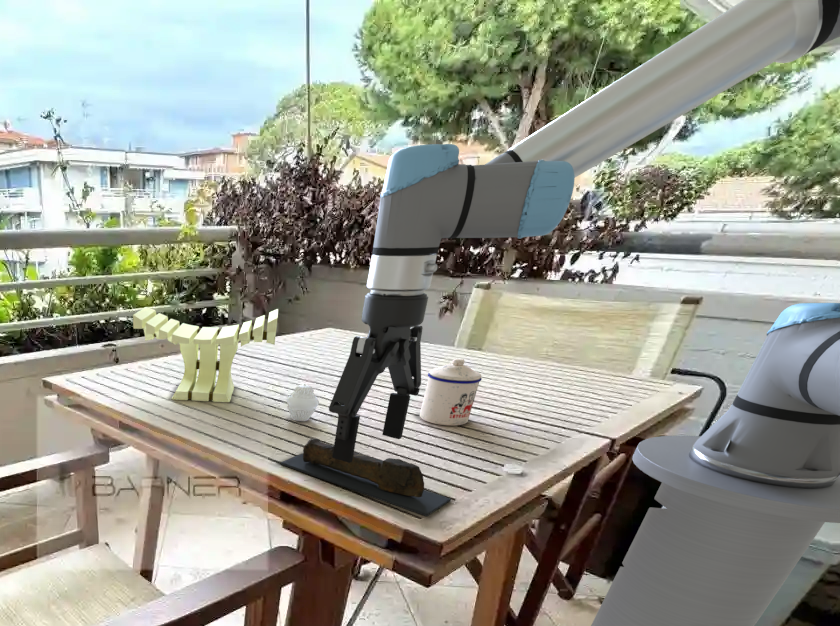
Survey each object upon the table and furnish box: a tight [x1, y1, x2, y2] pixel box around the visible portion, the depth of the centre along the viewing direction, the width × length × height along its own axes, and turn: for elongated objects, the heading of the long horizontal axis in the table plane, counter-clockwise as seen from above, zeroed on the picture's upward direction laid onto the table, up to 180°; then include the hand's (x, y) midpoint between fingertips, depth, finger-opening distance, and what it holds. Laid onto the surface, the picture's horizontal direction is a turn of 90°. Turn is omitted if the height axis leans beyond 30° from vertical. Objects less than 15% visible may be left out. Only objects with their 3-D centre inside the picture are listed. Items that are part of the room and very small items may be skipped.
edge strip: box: [280, 452, 452, 517], centre depth 83 cm, size 24×7×1 cm, turn 40°
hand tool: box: [302, 438, 425, 497], centre depth 81 cm, size 19×4×5 cm, turn 36°
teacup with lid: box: [419, 358, 483, 427], centre depth 106 cm, size 12×9×12 cm
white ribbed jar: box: [286, 383, 320, 422], centre depth 108 cm, size 6×6×7 cm
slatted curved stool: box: [132, 306, 279, 403], centre depth 124 cm, size 30×16×18 cm, turn 77°
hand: (368, 447), depth 80 cm, fingers open, 13 cm apart
